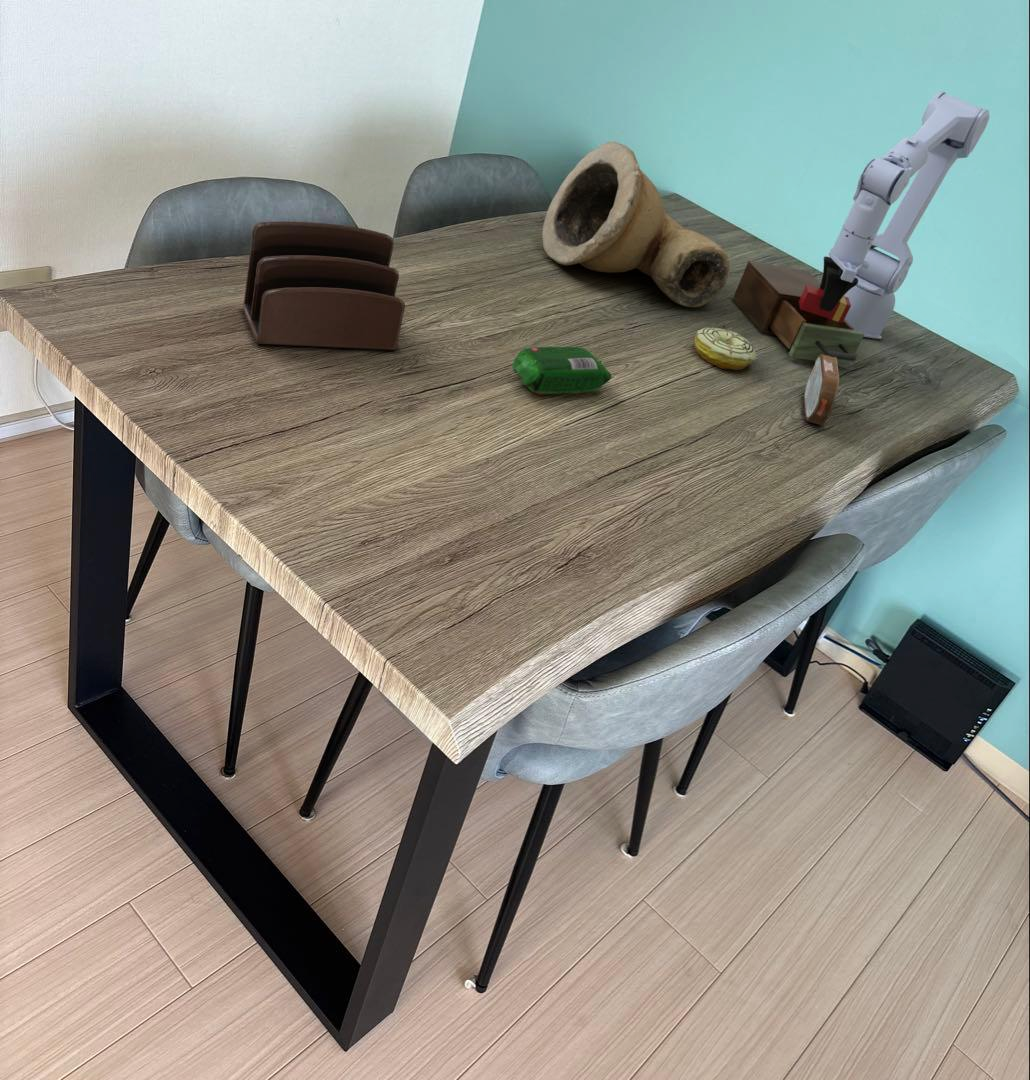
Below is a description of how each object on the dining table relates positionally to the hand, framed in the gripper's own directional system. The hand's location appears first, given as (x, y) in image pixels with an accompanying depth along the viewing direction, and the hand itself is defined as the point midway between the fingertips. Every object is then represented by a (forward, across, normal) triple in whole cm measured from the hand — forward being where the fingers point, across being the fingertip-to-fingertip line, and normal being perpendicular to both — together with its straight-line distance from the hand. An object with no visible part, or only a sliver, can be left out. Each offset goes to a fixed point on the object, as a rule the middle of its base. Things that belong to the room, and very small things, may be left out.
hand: (824, 304), depth 182 cm
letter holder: (+9, -52, +76) cm, 92 cm away
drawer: (+8, -2, -1) cm, 8 cm away
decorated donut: (+9, -16, +16) cm, 24 cm away
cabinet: (+9, +10, +4) cm, 14 cm away
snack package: (+9, -45, +41) cm, 62 cm away
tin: (+9, -26, +1) cm, 27 cm away
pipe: (+9, +9, +35) cm, 37 cm away
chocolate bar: (+2, 0, 0) cm, 2 cm away
